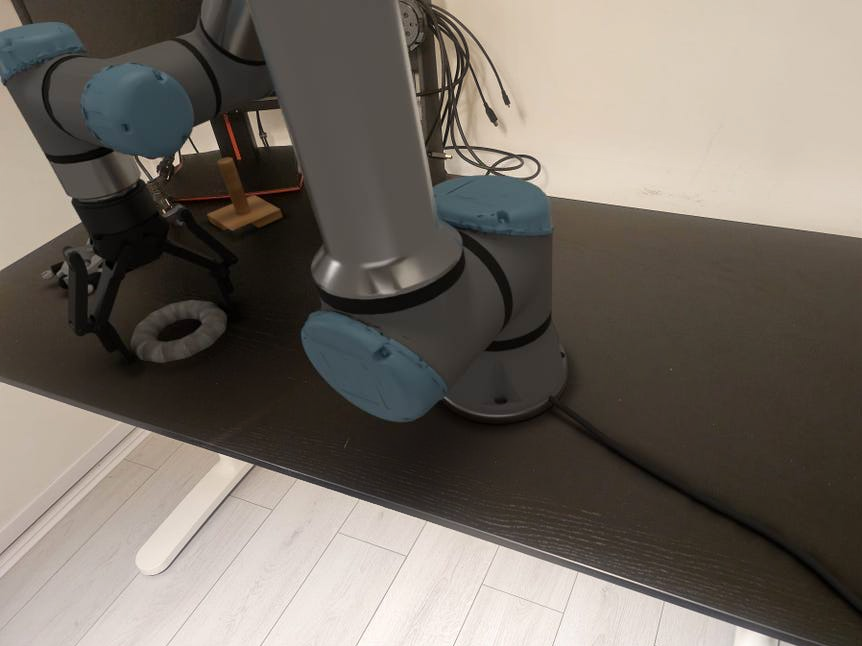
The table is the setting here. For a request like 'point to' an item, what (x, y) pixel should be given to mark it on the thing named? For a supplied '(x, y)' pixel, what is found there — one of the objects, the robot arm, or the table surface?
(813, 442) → the table surface
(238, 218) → the stand
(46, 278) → the robot toy
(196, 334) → the ring
